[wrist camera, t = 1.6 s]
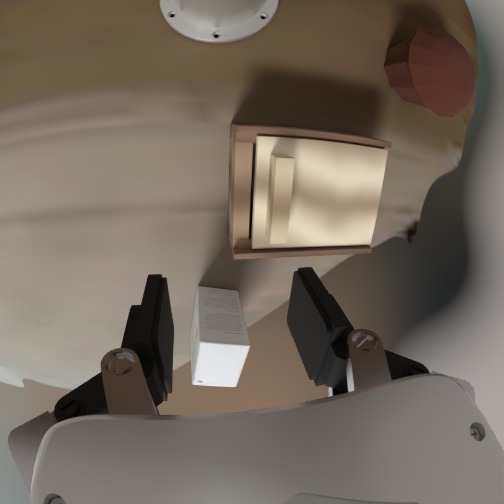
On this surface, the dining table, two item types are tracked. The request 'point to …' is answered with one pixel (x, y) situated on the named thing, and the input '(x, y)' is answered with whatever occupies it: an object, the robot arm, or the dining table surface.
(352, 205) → the lid
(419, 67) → the muffin
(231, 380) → the small box
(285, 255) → the walnut box
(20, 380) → the dining table surface
